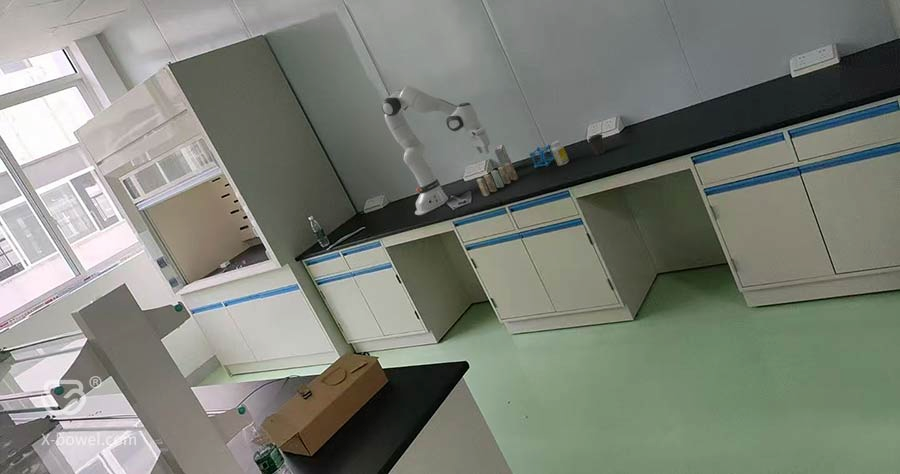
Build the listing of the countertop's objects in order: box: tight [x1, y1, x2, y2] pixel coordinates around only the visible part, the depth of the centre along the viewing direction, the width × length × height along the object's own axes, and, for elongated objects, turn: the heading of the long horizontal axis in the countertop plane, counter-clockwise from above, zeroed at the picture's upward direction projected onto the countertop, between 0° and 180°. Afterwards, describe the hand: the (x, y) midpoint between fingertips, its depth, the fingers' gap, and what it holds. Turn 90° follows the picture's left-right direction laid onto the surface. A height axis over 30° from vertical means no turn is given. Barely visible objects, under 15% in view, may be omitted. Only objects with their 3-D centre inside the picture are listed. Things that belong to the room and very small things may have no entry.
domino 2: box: [483, 173, 498, 193], centre depth 363 cm, size 2×5×10 cm, turn 25°
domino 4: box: [505, 162, 519, 181], centre depth 367 cm, size 2×5×10 cm, turn 24°
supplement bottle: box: [550, 140, 570, 167], centre depth 352 cm, size 7×7×13 cm
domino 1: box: [476, 177, 491, 197], centre depth 361 cm, size 2×5×10 cm, turn 24°
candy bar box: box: [494, 143, 512, 173], centre depth 388 cm, size 11×5×16 cm, turn 168°
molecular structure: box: [529, 144, 556, 169], centre depth 368 cm, size 10×10×10 cm
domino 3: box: [497, 166, 512, 185], centre depth 366 cm, size 2×5×10 cm, turn 24°
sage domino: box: [490, 169, 505, 189], centre depth 364 cm, size 2×5×10 cm, turn 24°
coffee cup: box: [587, 133, 606, 156], centre depth 339 cm, size 8×8×10 cm
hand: (484, 153), depth 359 cm, fingers open, 8 cm apart
